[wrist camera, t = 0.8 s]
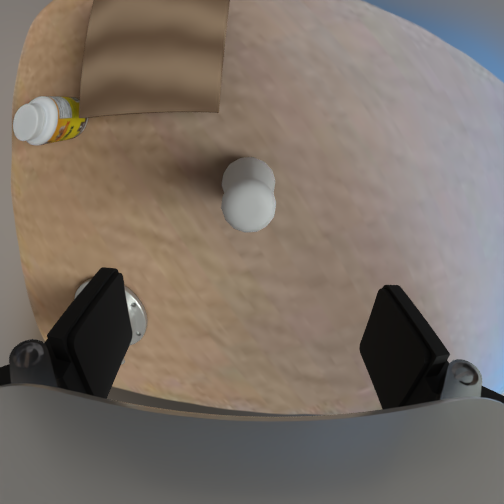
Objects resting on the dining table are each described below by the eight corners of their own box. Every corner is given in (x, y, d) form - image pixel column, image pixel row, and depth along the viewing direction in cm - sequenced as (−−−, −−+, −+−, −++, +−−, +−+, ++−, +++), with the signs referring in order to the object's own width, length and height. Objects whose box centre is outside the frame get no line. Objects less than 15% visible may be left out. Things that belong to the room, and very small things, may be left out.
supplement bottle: (62, 145, 31) (14, 157, 22) (53, 108, 29) (4, 112, 20) (94, 128, 31) (47, 135, 21) (85, 90, 28) (37, 86, 19)
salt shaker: (268, 206, 35) (279, 250, 24) (221, 199, 35) (207, 240, 23) (276, 158, 33) (293, 178, 21) (227, 151, 33) (215, 166, 21)
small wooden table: (222, 114, 31) (217, 111, 25) (103, 117, 30) (78, 118, 25) (233, 0, 25) (230, -21, 19) (115, 10, 24) (94, -4, 19)
